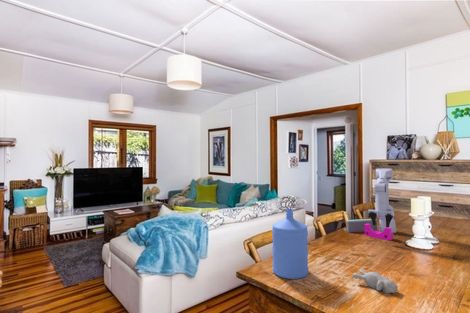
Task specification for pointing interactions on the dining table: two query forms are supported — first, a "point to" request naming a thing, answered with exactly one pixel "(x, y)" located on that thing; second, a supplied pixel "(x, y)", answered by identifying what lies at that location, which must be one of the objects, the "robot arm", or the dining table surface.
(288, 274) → the water jug
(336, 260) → the dining table surface
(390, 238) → the toy block
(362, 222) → the backstop wall
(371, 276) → the bunny figurine
